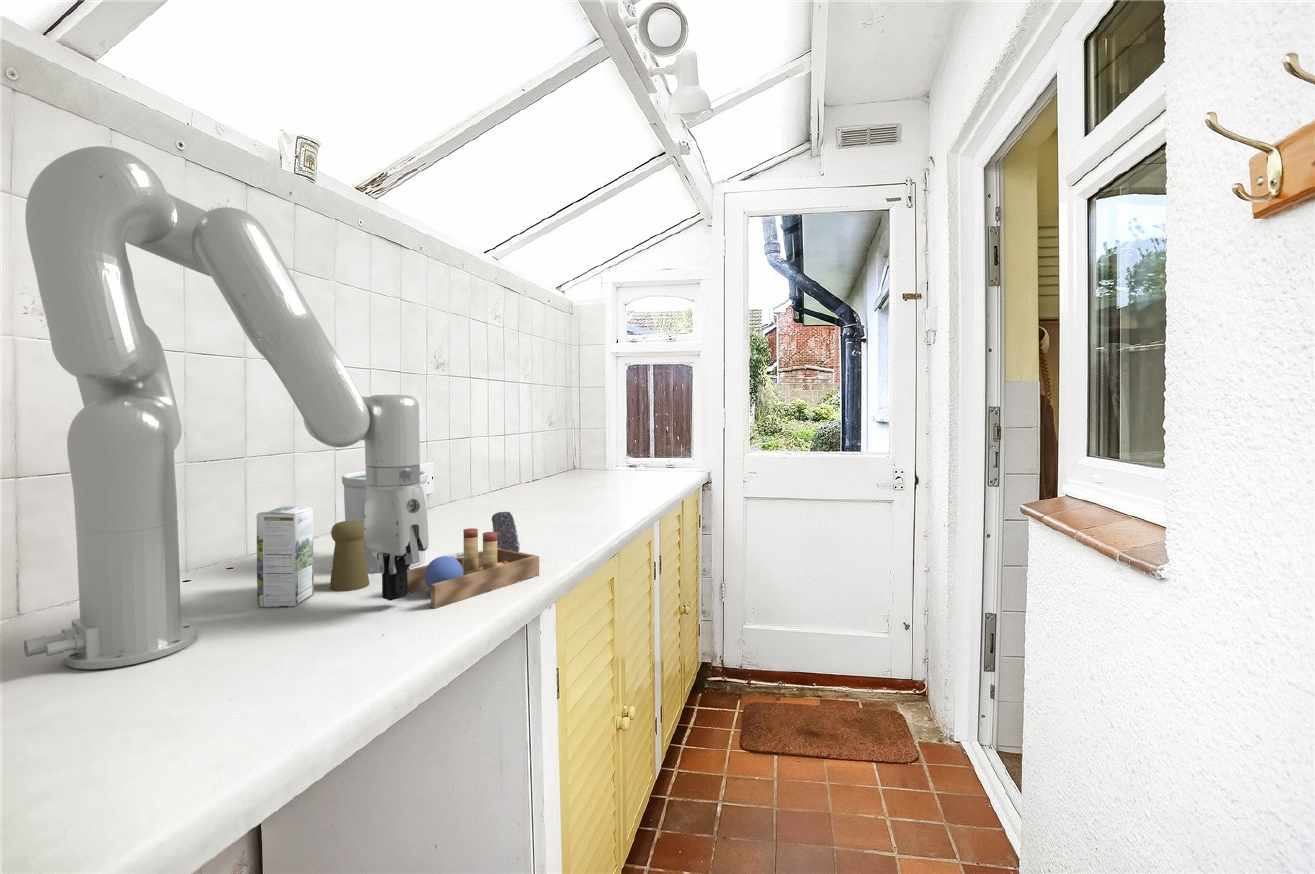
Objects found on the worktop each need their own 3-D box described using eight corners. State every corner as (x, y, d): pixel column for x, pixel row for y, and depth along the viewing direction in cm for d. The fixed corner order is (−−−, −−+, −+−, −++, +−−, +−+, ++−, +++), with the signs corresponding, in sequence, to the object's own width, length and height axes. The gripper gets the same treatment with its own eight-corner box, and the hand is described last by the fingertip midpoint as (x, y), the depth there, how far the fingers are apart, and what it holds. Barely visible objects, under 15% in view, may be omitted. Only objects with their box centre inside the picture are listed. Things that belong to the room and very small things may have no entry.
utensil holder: (424, 571, 113) (423, 476, 112) (335, 577, 109) (333, 478, 108) (431, 552, 127) (430, 468, 126) (353, 556, 123) (351, 469, 122)
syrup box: (277, 596, 98) (274, 506, 97) (315, 595, 98) (313, 505, 98) (256, 608, 92) (253, 512, 92) (297, 607, 93) (295, 512, 92)
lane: (435, 608, 93) (434, 585, 93) (391, 595, 99) (391, 574, 99) (539, 575, 111) (539, 556, 111) (497, 566, 117) (497, 547, 117)
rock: (522, 564, 119) (522, 513, 118) (493, 567, 117) (493, 514, 116) (514, 550, 130) (514, 503, 129) (488, 552, 128) (487, 504, 127)
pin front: (471, 573, 103) (511, 562, 111) (462, 570, 105) (501, 559, 112) (471, 587, 104) (510, 575, 111) (462, 584, 105) (501, 572, 112)
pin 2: (489, 587, 104) (489, 535, 103) (480, 584, 105) (479, 533, 105) (500, 583, 106) (500, 533, 105) (491, 581, 107) (490, 531, 107)
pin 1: (470, 582, 107) (469, 531, 106) (460, 579, 108) (460, 530, 107) (481, 578, 109) (480, 529, 108) (472, 576, 110) (471, 527, 109)
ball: (476, 565, 102) (462, 600, 100) (453, 558, 105) (439, 592, 103) (449, 555, 97) (434, 593, 95) (425, 548, 100) (410, 584, 99)
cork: (353, 592, 100) (351, 525, 100) (321, 590, 101) (319, 524, 101) (377, 582, 106) (376, 519, 106) (346, 579, 107) (345, 517, 107)
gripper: (446, 478, 91) (447, 600, 92) (387, 471, 99) (388, 583, 100) (400, 483, 85) (402, 614, 86) (341, 476, 93) (343, 595, 94)
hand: (395, 597), depth 93 cm, fingers closed
